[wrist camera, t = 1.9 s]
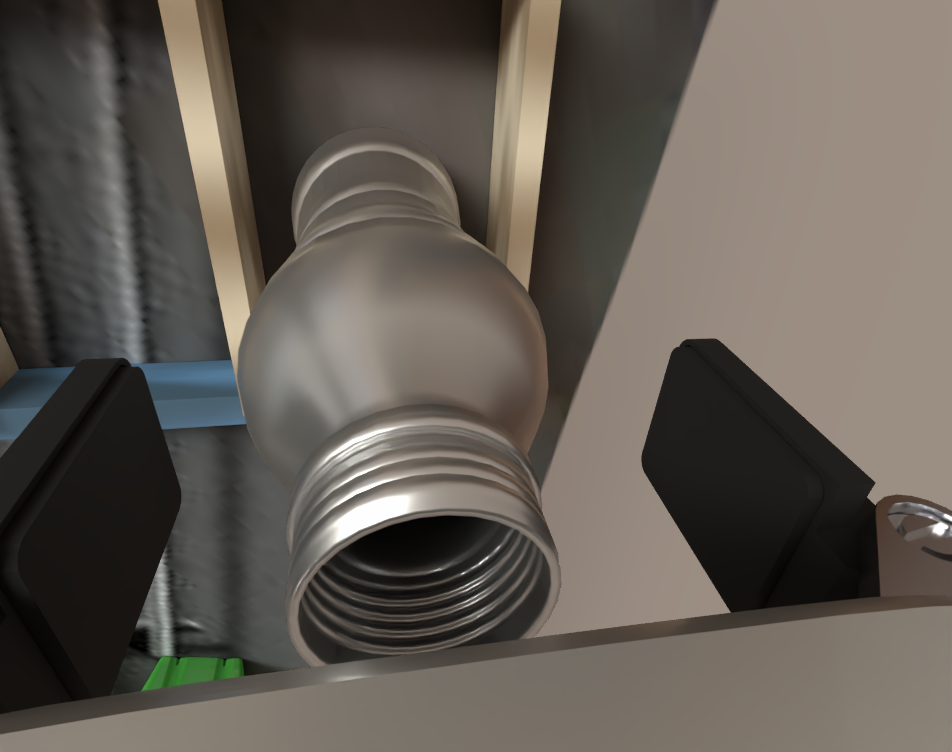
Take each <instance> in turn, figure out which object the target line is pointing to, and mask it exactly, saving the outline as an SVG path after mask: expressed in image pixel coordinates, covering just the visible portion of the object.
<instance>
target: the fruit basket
mask: <svg viewBox="0 0 952 752" xmlns="http://www.w3.org/2000/svg"><path fill="white" fill-rule="evenodd" d="M243 676H244V669H243V662H242V659H241V658H231V659H227V660H224V659H221V658H215V657H184V658H181V659H178V658H176V657H171V656H164V657H162V658H161V659H160V660H159V662H158V664H157V665H156V667H155V669H154V670H153V672H152V674H151V675H150V677H149V679H148V680H147V682H146V684H145V686H144V687H143V689H142V691H145V690H152V689H158V688H165V687H171V686H178V685H185V684H191V683H198V682H206V681H213V680H220V679H228V678H235V677H243Z"/></svg>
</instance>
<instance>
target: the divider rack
mask: <svg viewBox="0 0 952 752" xmlns="http://www.w3.org/2000/svg"><path fill="white" fill-rule="evenodd" d="M158 3H159V8H160V13H161V18H162V23H163V27H164V32H165V37H166V42H167V47H168V52H169V57H170V62H171V66H172V71H173V76H174V81H175V86H176V91H177V96H178V101H179V105H180V110H181V115H182V120H183V125H184V130H185V135H186V140H187V144H188V149H189V154H190V159H191V164H192V169H193V174H194V178H195V183H196V188H197V193H198V198H199V203H200V208H201V213H202V217H203V222H204V227H205V232H206V237H207V242H208V247H209V252H210V256H211V261H212V266H213V271H214V276H215V281H216V286H217V291H218V295H219V300H220V305H221V310H222V315H223V320H224V325H225V329H226V334H227V339H228V344H229V349H230V354H231V359H232V360H220V361H197V362H174V363H151V364H131V366H132V367H136V366H138V367H140V368H141V369H142V370H143V372H144V374H145V377H146V380H147V384H148V387H149V390H150V393H151V396H152V399H153V403H154V406H155V409H156V412H157V415H158V418H159V422H160V425H161V428H162V429H175V428H191V427H207V426H222V425H238V424H246V420H245V416H244V411H243V407H242V402H241V397H240V392H239V387H238V381H237V368H238V349H239V346H240V342H241V339H242V335H243V332H244V329H245V325H246V322H247V320H248V318H249V316H250V314H251V313H252V311H253V309H254V307H255V305H256V303H257V301H258V300H259V298H260V296H261V294H262V293H263V291H264V289H265V287H266V284H265V277H264V271H263V264H262V258H261V251H260V245H259V239H258V232H257V226H256V219H255V213H254V206H253V200H252V193H251V187H250V180H249V174H248V167H247V161H246V155H245V148H244V142H243V135H242V129H241V122H240V116H239V109H238V103H237V96H236V90H235V83H234V77H233V71H232V64H231V58H230V51H229V45H228V38H227V32H226V25H225V19H224V12H223V6H222V0H158ZM560 6H561V0H503V1H502V16H501V30H500V45H499V60H498V74H497V89H496V104H495V119H494V133H493V148H492V163H491V177H490V192H489V207H488V221H487V236H486V248H487V249H489V250H490V251H492V252H493V253H494V254H495V255H496V256H497V257H498V258H499V260H500V261H501V262H502V263H503V264H504V265H505V266H506V267H507V268H508V269H509V270H510V271H511V273H512V274H513V275H514V276H515V277H516V278H517V279H518V280H519V282H520V283H521V284H522V285H523V286H524V287H525V289H526V291H527V292H528V286H529V277H530V268H531V260H532V251H533V242H534V233H535V225H536V216H537V207H538V198H539V190H540V181H541V172H542V164H543V155H544V146H545V137H546V129H547V120H548V111H549V102H550V94H551V85H552V76H553V68H554V59H555V50H556V41H557V33H558V24H559V15H560ZM74 368H75V367H58V368H34V369H19V368H18V365H17V363H16V361H15V359H14V356H13V354H12V352H11V350H10V347H9V345H8V343H7V341H6V338H5V336H4V334H3V332H2V329H1V327H0V440H3V439H17V437H18V436H19V435H20V434H21V432H22V431H23V430H24V429H25V428H26V426H27V425H28V424H29V423H30V422H31V420H32V419H33V418H34V417H35V415H36V414H37V413H38V412H39V411H40V409H41V408H42V407H43V406H44V405H45V403H46V402H47V401H48V400H49V398H50V397H51V396H52V395H53V394H54V392H55V391H56V390H57V389H58V388H59V386H60V385H61V384H62V383H63V381H64V380H65V379H66V378H67V377H68V375H69V374H70V373H71V372H72V370H73V369H74Z"/></svg>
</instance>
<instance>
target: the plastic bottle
mask: <svg viewBox="0 0 952 752" xmlns="http://www.w3.org/2000/svg"><path fill="white" fill-rule="evenodd" d="M291 214H292V223H293V232H294V239H295V242H296V245H297V246H296V249H295V251H294V252H293V253H292V254H291V255H290V257H289V258H288V259H287V260H286V261H285V262H284V264H283V265H282V266H281V267H280V268H279V269H278V270H277V272H276V273H275V274H274V275H273V276H272V277H271V278H270V280H269V282H268V284H267V286H266V287H265V289H264V291H263V293H262V294H261V296H260V298H259V300H258V301H257V303H256V305H255V307H254V309H253V311H252V313H251V314H250V316H249V318H248V320H247V322H246V325H245V329H244V332H243V335H242V339H241V342H240V346H239V349H238V368H237V381H238V387H239V392H240V397H241V402H242V407H243V411H244V416H245V420H246V424H247V429H248V432H249V434H250V436H251V439H252V441H253V443H254V445H255V447H256V450H257V452H258V454H259V455H260V457H261V458H262V459H263V461H264V462H265V463H266V465H267V466H268V467H269V469H270V470H271V471H272V473H273V474H274V475H275V476H276V477H277V479H278V480H279V481H280V482H281V483H282V484H283V485H284V487H285V488H286V489H287V490H288V491H289V492H290V493H291V494H290V502H289V510H288V519H287V528H286V537H287V543H288V549H289V553H290V555H291V557H290V566H289V574H288V582H287V590H286V598H285V610H286V615H287V617H286V622H287V627H288V633H289V638H290V640H291V641H292V643H293V645H294V647H295V649H296V651H297V652H298V654H299V655H300V656H301V657H302V658H303V659H304V660H305V661H306V662H307V663H308V664H309V665H310V666H311V667H317V666H324V665H331V664H339V663H346V662H354V661H361V660H368V659H376V658H383V657H391V656H398V655H405V654H413V653H421V652H428V651H436V650H444V649H451V648H459V647H467V646H474V645H482V644H490V643H497V642H505V641H513V640H520V639H528V638H533V637H534V636H535V635H536V634H537V633H538V632H539V631H540V629H541V628H542V627H543V625H544V624H545V623H546V622H547V620H548V619H549V618H550V616H551V614H552V611H553V609H554V607H555V605H556V603H557V601H558V596H559V592H560V588H561V572H560V565H559V561H558V552H557V549H556V547H555V544H554V541H553V539H552V536H551V534H550V531H549V529H548V526H547V523H546V521H545V518H544V516H543V513H542V510H541V509H542V503H541V490H540V487H539V484H538V481H537V478H536V476H535V473H534V470H533V468H532V465H531V463H530V460H529V458H528V455H527V453H528V451H529V449H530V447H531V444H532V442H533V440H534V437H535V435H536V433H537V430H538V427H539V425H540V422H541V419H542V417H543V414H544V412H545V406H546V400H547V393H548V387H549V386H548V368H547V352H546V337H545V333H544V330H543V327H542V323H541V320H540V316H539V313H538V310H537V309H536V307H535V305H534V303H533V301H532V300H531V298H530V296H529V294H528V292H527V291H526V289H525V287H524V286H523V285H522V284H521V283H520V282H519V280H518V279H517V278H516V277H515V276H514V275H513V274H512V273H511V271H510V270H509V269H508V268H507V267H506V266H505V265H504V264H503V263H502V262H501V261H500V260H499V258H498V257H497V256H496V255H495V254H494V253H493V252H492V251H490V250H489V249H487V248H486V247H485V246H483V245H482V244H481V243H479V242H478V241H476V240H475V239H474V238H472V237H471V236H469V235H468V234H467V233H465V232H464V231H463V230H462V229H461V228H460V215H459V208H458V201H457V195H456V192H455V189H454V186H453V183H452V180H451V178H450V176H449V175H448V173H447V171H446V169H445V168H444V166H443V164H442V163H441V162H440V161H439V159H438V158H437V157H436V156H435V155H434V154H433V152H432V151H431V150H429V149H428V148H427V147H426V146H424V145H423V144H422V143H420V142H419V141H418V140H416V139H414V138H412V137H410V136H408V135H406V134H404V133H402V132H399V131H395V130H391V129H387V128H379V127H364V128H358V129H353V130H348V131H346V132H344V133H341V134H339V135H337V136H334V137H332V138H331V139H329V140H328V141H327V142H325V143H324V144H323V145H321V146H320V147H319V148H317V150H316V151H315V152H314V153H313V154H312V155H311V156H310V158H309V159H308V160H307V161H306V163H305V164H304V166H303V168H302V170H301V172H300V174H299V176H298V178H297V181H296V184H295V188H294V191H293V196H292V208H291Z"/></svg>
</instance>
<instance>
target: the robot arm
mask: <svg viewBox="0 0 952 752" xmlns="http://www.w3.org/2000/svg"><path fill="white" fill-rule="evenodd" d="M642 467H643V470H644V472H645V474H646V476H647V477H648V479H649V481H650V482H651V484H652V486H653V487H654V489H655V490H656V492H657V494H658V495H659V497H660V498H661V500H662V502H663V503H664V505H665V507H666V508H667V510H668V512H669V513H670V515H671V516H672V518H673V520H674V521H675V523H676V524H677V526H678V528H679V529H680V531H681V533H682V534H683V536H684V537H685V539H686V541H687V542H688V544H689V545H690V547H691V549H692V550H693V552H694V554H695V555H696V557H697V559H698V560H699V562H700V563H701V565H702V567H703V568H704V570H705V572H706V573H707V575H708V576H709V578H710V580H711V581H712V583H713V584H714V586H715V588H716V589H717V591H718V593H719V594H720V596H721V597H722V599H723V601H724V602H725V604H726V606H727V607H728V608H729V610H730V612H731V613H726V614H718V615H710V616H702V617H695V618H686V619H678V620H670V621H662V622H653V623H645V624H638V625H629V626H621V627H614V628H606V629H598V630H590V631H583V632H575V633H567V634H559V635H551V636H544V637H536V638H528V639H520V640H513V641H505V642H497V643H490V644H482V645H474V646H467V647H459V648H451V649H444V650H436V651H428V652H421V653H413V654H405V655H398V656H391V657H383V658H376V659H368V660H361V661H354V662H346V663H339V664H331V665H324V666H317V667H309V668H302V669H294V670H287V671H280V672H272V673H265V674H257V675H250V676H243V677H235V678H228V679H220V680H213V681H206V682H198V683H191V684H185V685H178V686H171V687H165V688H158V689H152V690H145V691H138V692H132V693H125V694H118V695H112V696H109V695H110V693H111V691H112V688H113V686H114V683H115V680H116V678H117V675H118V672H119V670H120V667H121V664H122V662H123V659H124V656H125V654H126V651H127V648H128V646H129V643H130V640H131V638H132V635H133V632H134V629H135V627H136V624H137V621H138V619H139V616H140V613H141V611H142V608H143V605H144V603H145V600H146V597H147V595H148V592H149V589H150V587H151V584H152V581H153V579H154V576H155V573H156V571H157V568H158V565H159V563H160V560H161V557H162V555H163V552H164V549H165V546H166V544H167V541H168V538H169V536H170V533H171V530H172V528H173V525H174V522H175V520H176V517H177V514H178V512H179V509H180V504H181V489H180V485H179V482H178V479H177V475H176V472H175V469H174V466H173V463H172V460H171V456H170V453H169V450H168V447H167V444H166V441H165V437H164V434H163V431H162V428H161V425H160V422H159V418H158V415H157V412H156V409H155V406H154V403H153V399H152V396H151V393H150V390H149V387H148V384H147V380H146V377H145V374H144V372H143V370H142V369H141V368H140V367H138V366H136V367H132V366H131V364H130V363H129V362H128V360H126V359H124V358H111V359H85V360H82V361H81V362H79V363H78V364H77V366H76V367H75V368H74V369H73V370H72V372H71V373H70V374H69V375H68V377H67V378H66V379H65V380H64V381H63V383H62V384H61V385H60V386H59V388H58V389H57V390H56V391H55V392H54V394H53V395H52V396H51V397H50V398H49V400H48V401H47V402H46V403H45V405H44V406H43V407H42V408H41V409H40V411H39V412H38V413H37V414H36V415H35V417H34V418H33V419H32V420H31V422H30V423H29V424H28V425H27V426H26V428H25V429H24V430H23V431H22V432H21V434H20V435H19V436H18V437H17V439H16V440H15V441H14V442H13V443H12V445H11V446H10V447H9V448H8V450H7V451H6V452H5V453H4V454H3V456H2V457H1V458H0V752H952V511H951V510H949V509H947V508H945V507H943V506H941V505H938V504H936V503H933V502H931V501H929V500H925V499H921V498H918V497H914V496H907V495H892V496H887V497H884V498H883V499H881V500H880V501H878V503H877V504H876V506H875V505H874V504H873V503H872V502H871V501H870V500H869V499H868V498H867V496H868V494H869V493H870V491H871V489H872V488H873V486H874V484H875V482H874V481H873V480H872V479H871V478H870V477H869V476H868V475H867V474H865V473H864V472H863V471H862V470H861V469H860V468H859V467H858V466H857V465H855V464H854V463H853V462H852V461H851V460H850V459H849V458H848V457H847V456H846V455H844V454H843V453H842V452H841V451H840V450H839V449H838V448H837V447H836V446H835V445H833V444H832V443H831V442H830V441H829V440H828V439H827V438H826V437H825V436H824V435H823V434H821V433H820V432H819V431H818V430H817V429H816V428H815V427H814V426H813V425H812V424H810V423H809V422H808V421H807V420H806V419H805V418H804V417H803V416H802V415H801V414H799V413H798V412H797V411H796V410H795V409H794V408H793V407H792V406H791V405H789V404H788V403H787V402H786V401H785V400H784V399H783V398H782V397H781V396H780V395H779V394H777V393H776V392H775V391H774V390H773V389H772V388H771V387H770V386H769V385H768V384H767V383H765V382H764V381H763V380H762V379H761V378H760V377H759V376H758V375H757V374H755V373H754V372H753V371H752V370H751V369H750V368H749V367H748V366H747V365H746V364H745V363H743V362H742V361H741V360H740V359H739V358H738V357H737V356H736V355H735V354H734V353H732V352H731V351H730V350H729V349H728V348H727V347H726V346H725V345H724V344H723V343H721V342H720V341H719V340H717V339H686V340H685V341H683V342H682V343H681V344H680V346H679V347H676V348H675V349H674V350H673V351H672V353H671V356H670V359H669V363H668V366H667V369H666V373H665V376H664V380H663V384H662V387H661V390H660V394H659V397H658V400H657V404H656V407H655V411H654V414H653V418H652V421H651V424H650V428H649V431H648V435H647V438H646V442H645V445H644V449H643V452H642Z"/></svg>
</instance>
